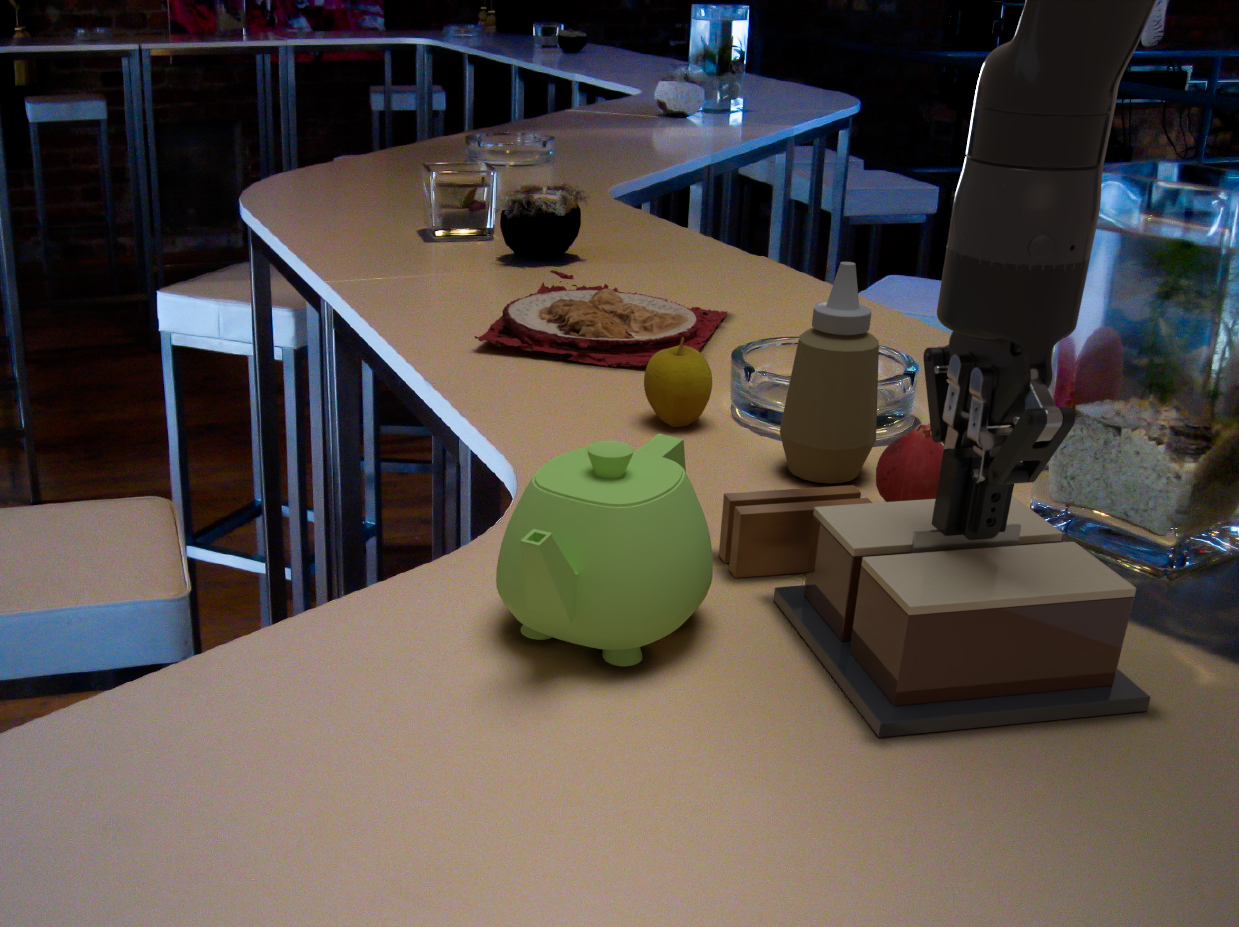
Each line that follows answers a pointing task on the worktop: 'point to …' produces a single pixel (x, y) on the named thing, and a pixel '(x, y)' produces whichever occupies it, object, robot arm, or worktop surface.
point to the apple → (678, 384)
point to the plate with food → (600, 324)
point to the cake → (961, 622)
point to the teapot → (607, 548)
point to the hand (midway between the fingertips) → (968, 527)
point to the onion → (910, 467)
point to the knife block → (774, 527)
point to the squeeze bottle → (833, 389)
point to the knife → (959, 509)
